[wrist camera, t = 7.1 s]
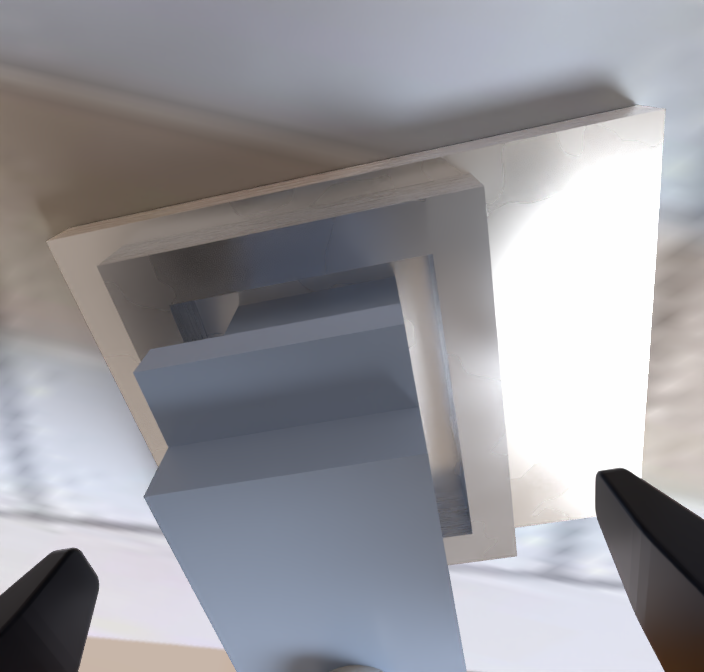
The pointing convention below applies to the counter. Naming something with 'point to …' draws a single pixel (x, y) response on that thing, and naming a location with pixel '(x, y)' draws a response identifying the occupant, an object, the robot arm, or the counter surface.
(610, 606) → the counter surface
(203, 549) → the block
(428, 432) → the mount plate
